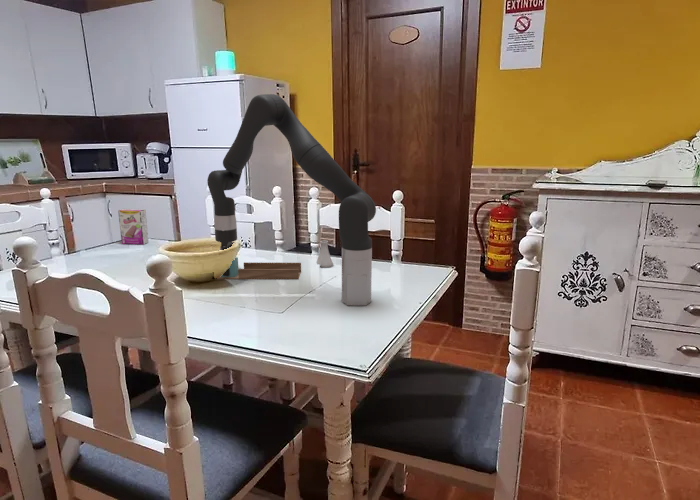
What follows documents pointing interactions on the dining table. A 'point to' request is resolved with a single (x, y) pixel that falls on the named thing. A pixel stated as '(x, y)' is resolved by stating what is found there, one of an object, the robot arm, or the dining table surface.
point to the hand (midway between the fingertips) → (228, 273)
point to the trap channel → (268, 271)
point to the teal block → (233, 268)
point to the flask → (324, 255)
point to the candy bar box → (133, 226)
